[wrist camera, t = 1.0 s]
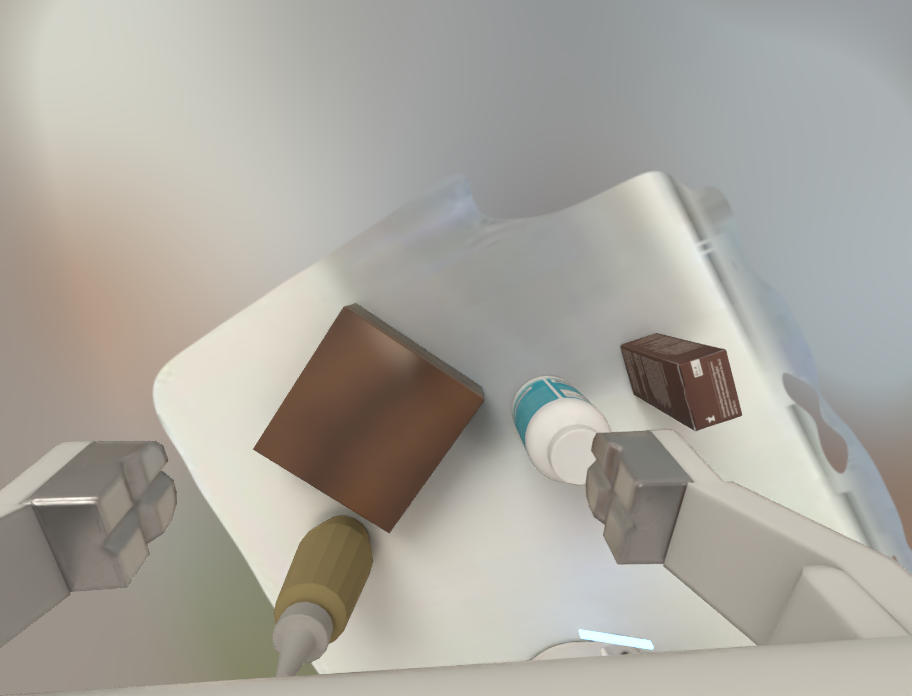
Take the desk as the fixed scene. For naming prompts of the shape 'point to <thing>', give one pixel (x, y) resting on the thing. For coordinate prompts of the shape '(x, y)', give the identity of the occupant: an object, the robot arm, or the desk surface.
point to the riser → (370, 417)
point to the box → (683, 379)
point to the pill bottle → (557, 428)
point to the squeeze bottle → (320, 591)
